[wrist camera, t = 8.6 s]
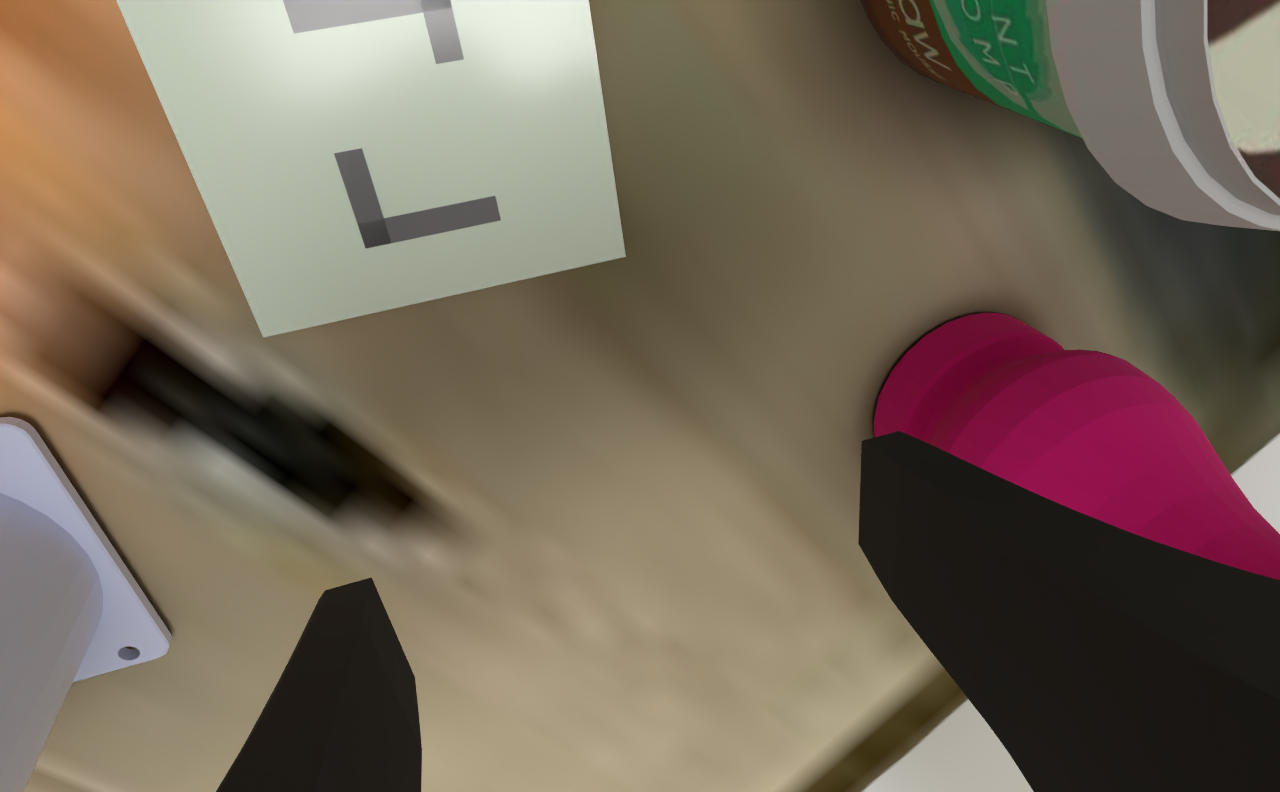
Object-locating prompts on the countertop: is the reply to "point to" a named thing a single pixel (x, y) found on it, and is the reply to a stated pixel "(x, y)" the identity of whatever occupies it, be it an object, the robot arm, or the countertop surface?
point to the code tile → (386, 144)
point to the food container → (1124, 87)
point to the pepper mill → (1075, 436)
